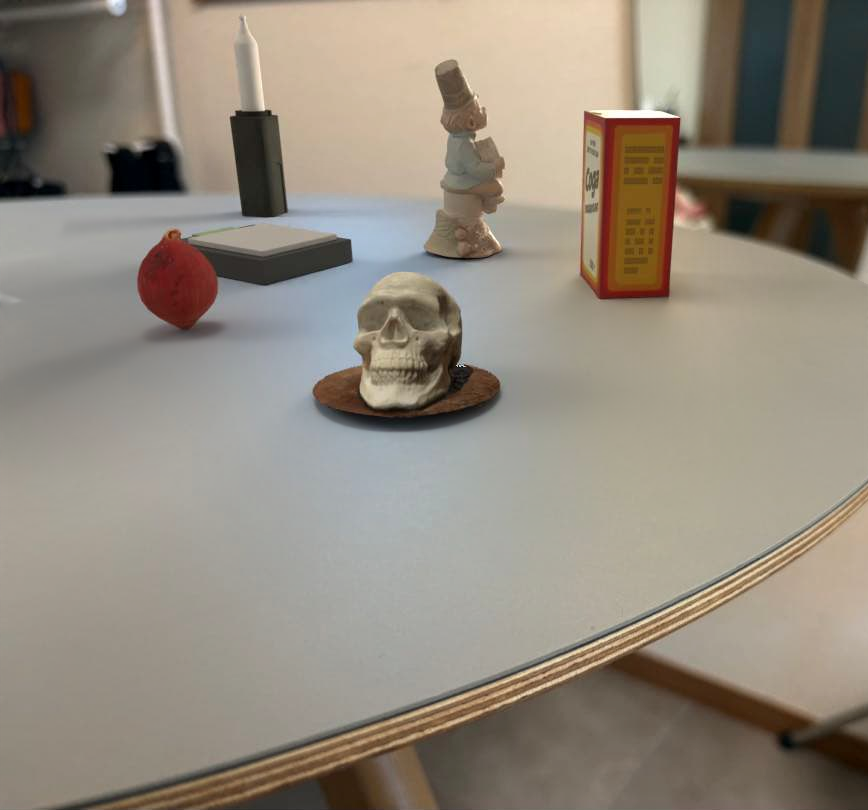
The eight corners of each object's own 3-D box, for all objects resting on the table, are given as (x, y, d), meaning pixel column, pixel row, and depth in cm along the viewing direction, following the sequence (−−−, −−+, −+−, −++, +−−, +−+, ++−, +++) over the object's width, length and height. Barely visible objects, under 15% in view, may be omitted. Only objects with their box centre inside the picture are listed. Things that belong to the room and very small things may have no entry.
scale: (165, 265, 88) (160, 236, 87) (256, 245, 98) (253, 219, 97) (264, 285, 81) (261, 254, 80) (353, 261, 90) (350, 233, 89)
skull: (496, 419, 49) (370, 286, 47) (377, 512, 53) (255, 394, 50) (529, 346, 60) (427, 235, 57) (428, 428, 64) (329, 328, 61)
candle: (257, 209, 120) (234, 14, 110) (291, 210, 119) (270, 14, 109) (238, 215, 115) (212, 12, 106) (273, 217, 114) (250, 12, 105)
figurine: (439, 264, 89) (431, 59, 82) (416, 248, 97) (407, 58, 89) (517, 257, 93) (516, 59, 85) (489, 242, 100) (486, 58, 92)
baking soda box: (580, 273, 86) (584, 106, 80) (642, 272, 87) (651, 106, 81) (599, 298, 77) (605, 113, 71) (668, 296, 78) (680, 112, 72)
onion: (188, 343, 65) (171, 239, 62) (129, 335, 67) (110, 233, 64) (238, 323, 70) (225, 225, 67) (182, 315, 72) (166, 220, 69)
